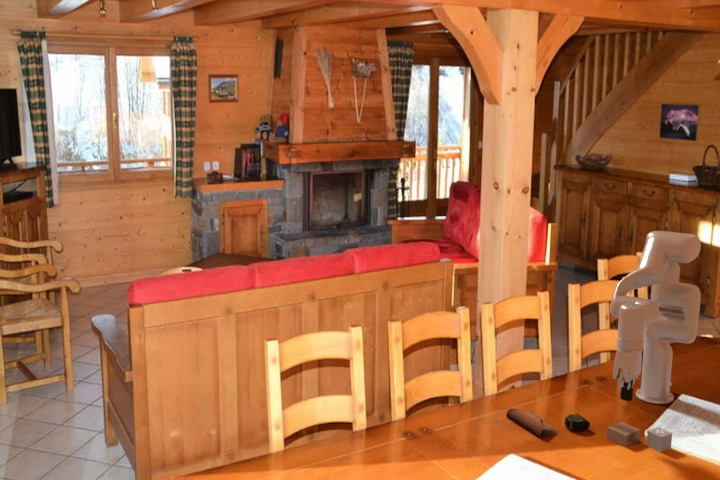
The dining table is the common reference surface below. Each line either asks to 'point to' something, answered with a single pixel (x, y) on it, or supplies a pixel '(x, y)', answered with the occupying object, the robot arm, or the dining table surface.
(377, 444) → the dining table surface
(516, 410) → the sunglasses case
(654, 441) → the slate cube
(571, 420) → the tape measure
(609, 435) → the brown block
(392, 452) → the dining table surface
